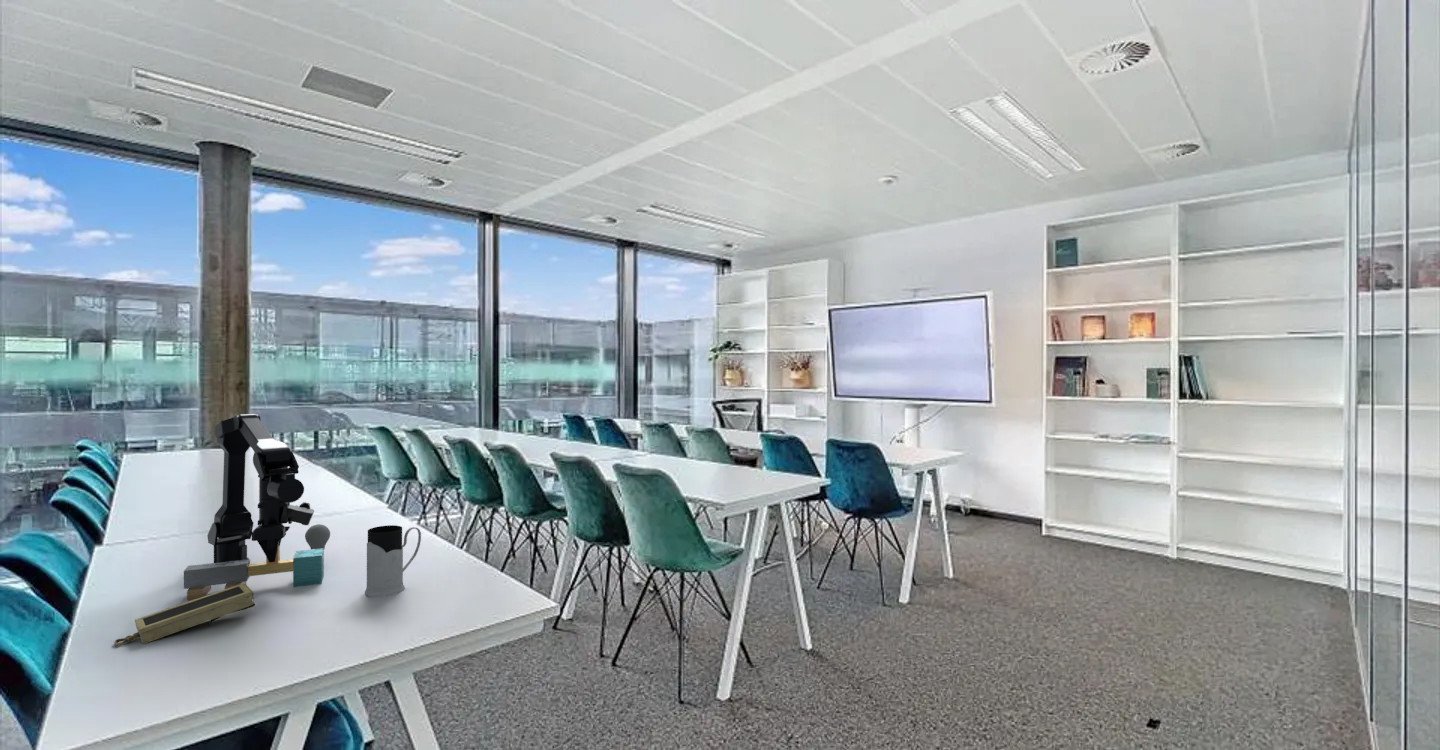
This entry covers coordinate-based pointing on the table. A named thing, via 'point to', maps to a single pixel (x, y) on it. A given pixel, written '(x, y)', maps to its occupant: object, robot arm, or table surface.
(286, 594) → the table surface
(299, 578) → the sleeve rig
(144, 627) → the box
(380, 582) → the glass holder
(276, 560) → the yellow sliding bolt
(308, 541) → the light bulb
